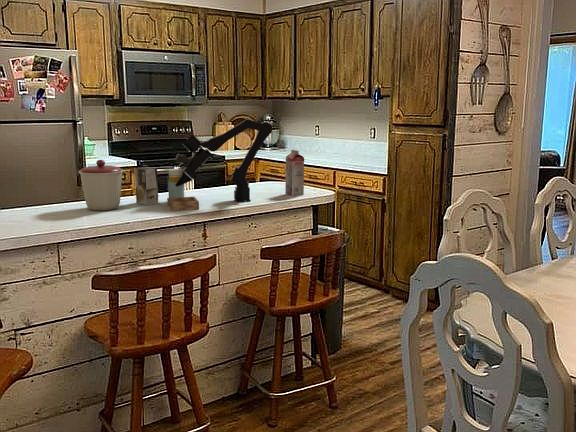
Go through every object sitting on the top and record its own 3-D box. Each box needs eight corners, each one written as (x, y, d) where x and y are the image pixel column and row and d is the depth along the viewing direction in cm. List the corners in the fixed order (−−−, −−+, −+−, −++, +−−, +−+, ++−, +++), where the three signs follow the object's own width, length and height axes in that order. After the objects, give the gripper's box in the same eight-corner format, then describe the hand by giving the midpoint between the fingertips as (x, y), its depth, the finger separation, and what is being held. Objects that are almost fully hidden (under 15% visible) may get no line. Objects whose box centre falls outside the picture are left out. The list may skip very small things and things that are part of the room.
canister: (94, 214, 229) (91, 163, 225) (73, 208, 241) (69, 159, 237) (133, 208, 242) (131, 159, 238) (111, 203, 254) (108, 156, 250)
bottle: (180, 204, 253) (179, 171, 250) (166, 203, 255) (165, 170, 251) (186, 201, 260) (185, 169, 257) (172, 200, 261) (171, 168, 258)
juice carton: (292, 196, 276) (292, 151, 271) (285, 193, 282) (285, 149, 277) (303, 194, 279) (304, 150, 275) (296, 192, 285) (297, 149, 280)
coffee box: (159, 203, 253) (157, 168, 250) (146, 205, 249) (145, 169, 245) (147, 201, 259) (146, 166, 256) (135, 202, 255) (133, 167, 251)
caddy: (194, 204, 253) (194, 196, 252) (199, 209, 242) (198, 201, 241) (167, 205, 249) (167, 197, 248) (170, 210, 238) (170, 202, 237)
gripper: (182, 145, 262) (159, 169, 261) (188, 149, 245) (163, 175, 244) (199, 162, 266) (176, 185, 265) (207, 166, 249) (182, 192, 248)
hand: (174, 184), depth 255 cm, fingers open, 9 cm apart
